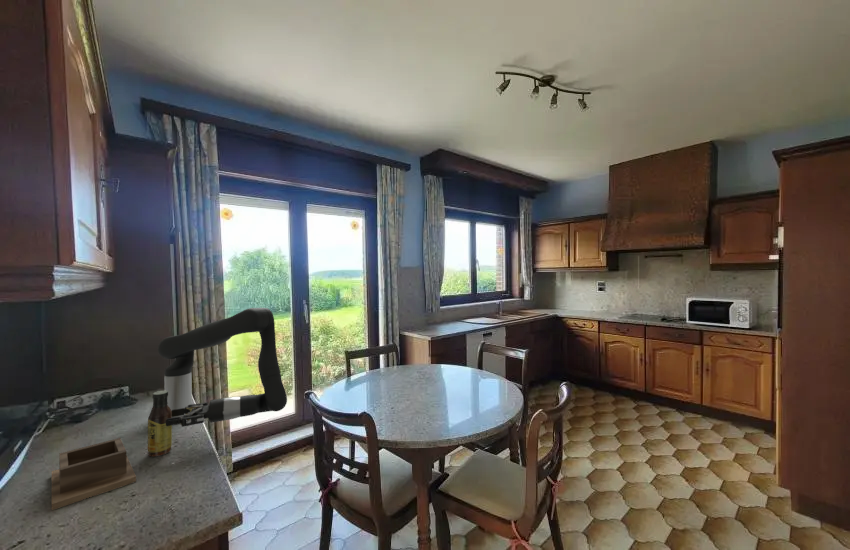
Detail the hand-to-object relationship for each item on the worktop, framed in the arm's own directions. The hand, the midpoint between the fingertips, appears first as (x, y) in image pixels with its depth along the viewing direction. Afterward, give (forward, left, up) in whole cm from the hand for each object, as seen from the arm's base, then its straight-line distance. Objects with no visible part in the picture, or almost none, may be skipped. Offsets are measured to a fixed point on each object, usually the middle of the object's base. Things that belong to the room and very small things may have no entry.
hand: (168, 417), depth 114 cm
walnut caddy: (+3, -18, -11) cm, 22 cm away
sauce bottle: (-1, -2, -11) cm, 11 cm away
